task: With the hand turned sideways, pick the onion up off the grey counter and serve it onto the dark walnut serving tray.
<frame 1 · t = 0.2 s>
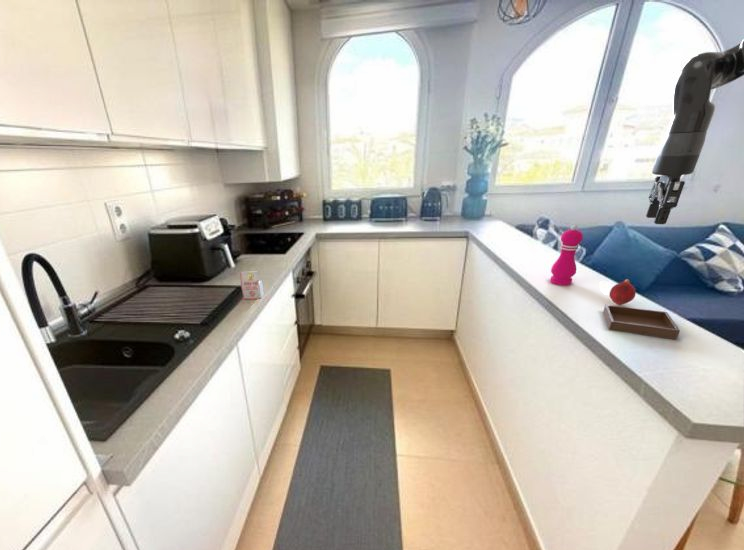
hand: (655, 220, 91), 25 cm above the table, tool pointing down, fingers open, 8 cm apart
pepper mill: (560, 282, 120), on the table
serving tray: (636, 325, 91), on the table
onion: (618, 305, 102), on the table
pink carton box: (253, 297, 127), on the table
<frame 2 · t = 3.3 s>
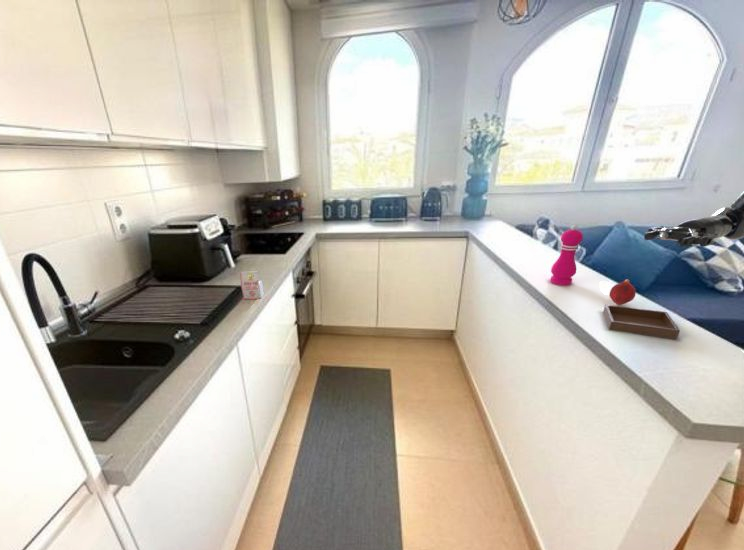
hand: (664, 239, 98), 18 cm above the table, tool horizontal, fingers open, 8 cm apart
nothing on the table moved.
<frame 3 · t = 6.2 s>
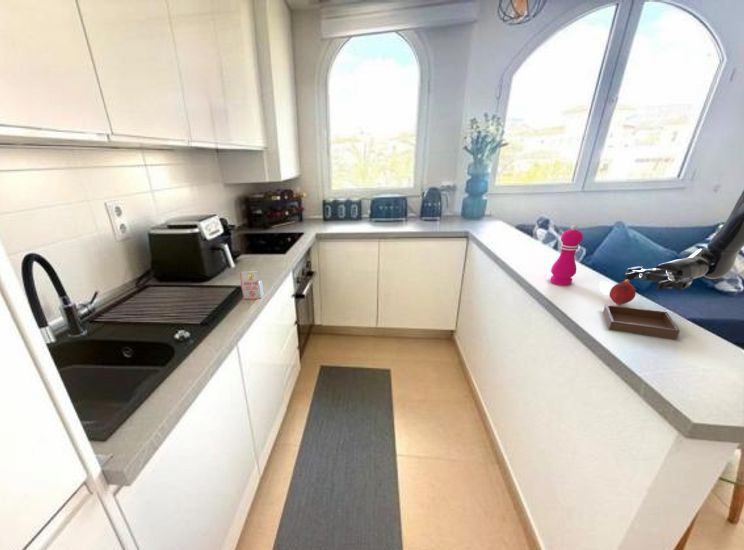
hand: (641, 281, 102), 6 cm above the table, tool horizontal, fingers open, 8 cm apart
nothing on the table moved.
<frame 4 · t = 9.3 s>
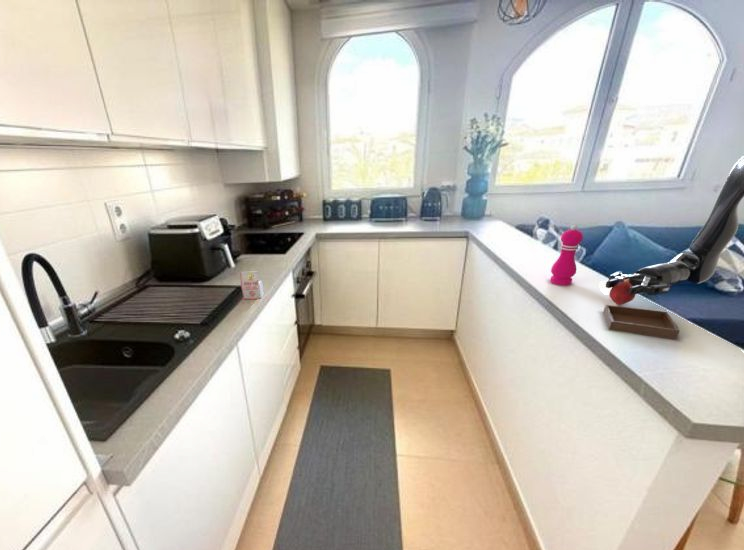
hand: (619, 287, 99), 6 cm above the table, tool horizontal, fingers closed on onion, 5 cm apart
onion: (618, 305, 102), on the table, touching gripper
everything else where it was.
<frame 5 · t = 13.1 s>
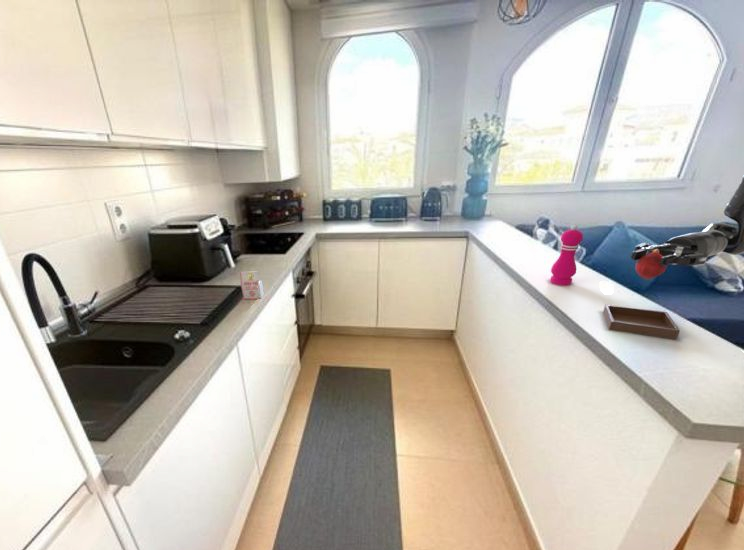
hand: (647, 258, 86), 18 cm above the table, tool horizontal, fingers closed on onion, 5 cm apart
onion: (645, 280, 89), point 11 cm above the table, touching gripper
everything else where it was.
when the fingers open (7 cm above the table, at t = 17.0 s): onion stays where it is, resting on serving tray.
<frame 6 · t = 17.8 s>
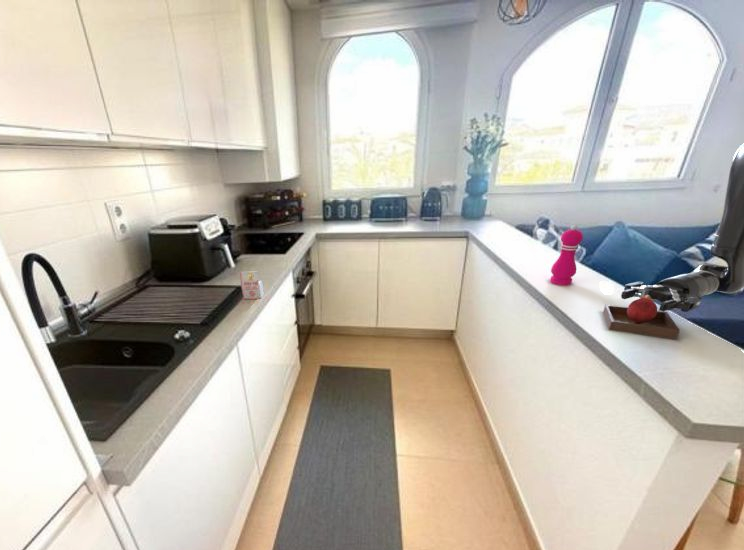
hand: (642, 301, 88), 7 cm above the table, tool horizontal, fingers open, 8 cm apart
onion: (636, 323, 91), resting on serving tray
everything else where it was.
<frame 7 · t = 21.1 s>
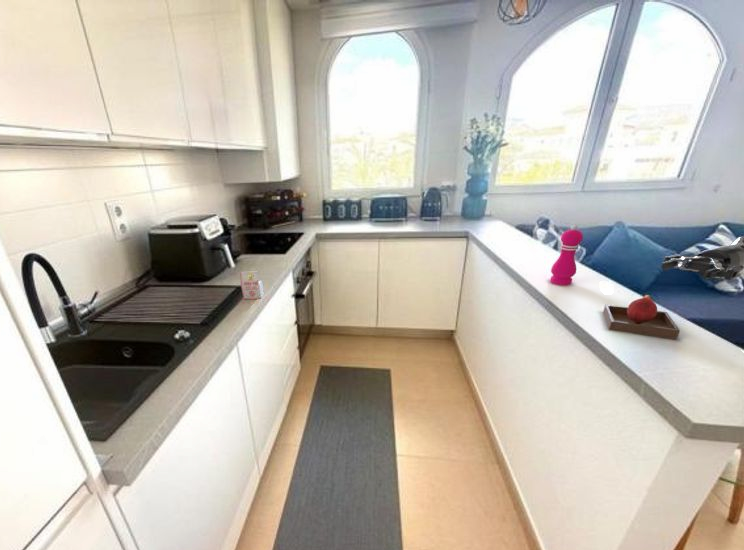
hand: (684, 270, 89), 13 cm above the table, tool horizontal, fingers open, 8 cm apart
nothing on the table moved.
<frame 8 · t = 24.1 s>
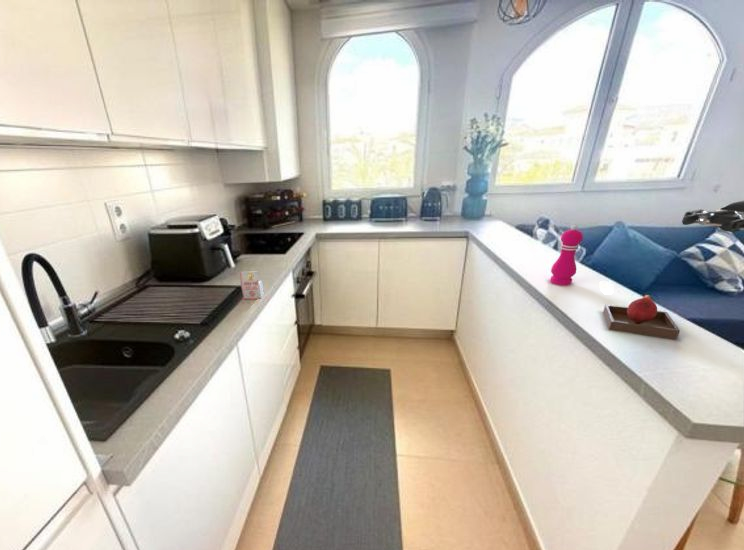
hand: (707, 223, 84), 25 cm above the table, tool horizontal, fingers open, 8 cm apart
nothing on the table moved.
at the end: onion inside the target area in the serving tray (0.1 cm from its centre), point 0.3 cm above the serving tray's base; the gripper is holding nothing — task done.
